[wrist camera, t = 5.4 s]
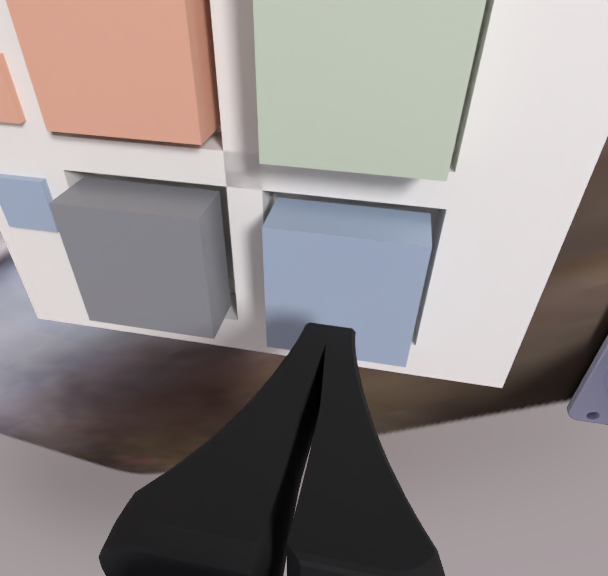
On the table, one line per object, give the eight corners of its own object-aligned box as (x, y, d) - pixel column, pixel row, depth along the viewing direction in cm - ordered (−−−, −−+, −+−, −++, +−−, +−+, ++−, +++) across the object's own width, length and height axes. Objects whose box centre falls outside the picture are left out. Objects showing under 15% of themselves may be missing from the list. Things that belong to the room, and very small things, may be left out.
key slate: (430, 213, 15) (432, 246, 13) (406, 329, 18) (405, 367, 16) (277, 197, 16) (261, 227, 14) (279, 311, 19) (266, 346, 17)
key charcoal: (219, 191, 16) (198, 220, 14) (230, 305, 19) (214, 338, 17) (83, 177, 17) (49, 202, 15) (115, 288, 20) (89, 320, 18)
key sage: (486, -61, 11) (499, -58, 9) (442, 152, 14) (446, 181, 12) (272, -67, 11) (250, -66, 10) (275, 138, 14) (259, 163, 13)
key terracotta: (206, -69, 12) (176, -68, 11) (223, 123, 15) (201, 145, 14) (34, -74, 13) (-18, -74, 11) (82, 111, 16) (47, 131, 15)
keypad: (680, -168, 11) (752, -193, 8) (493, 342, 20) (503, 394, 18) (-89, -166, 13) (-191, -185, 11) (71, 284, 23) (34, 322, 21)
